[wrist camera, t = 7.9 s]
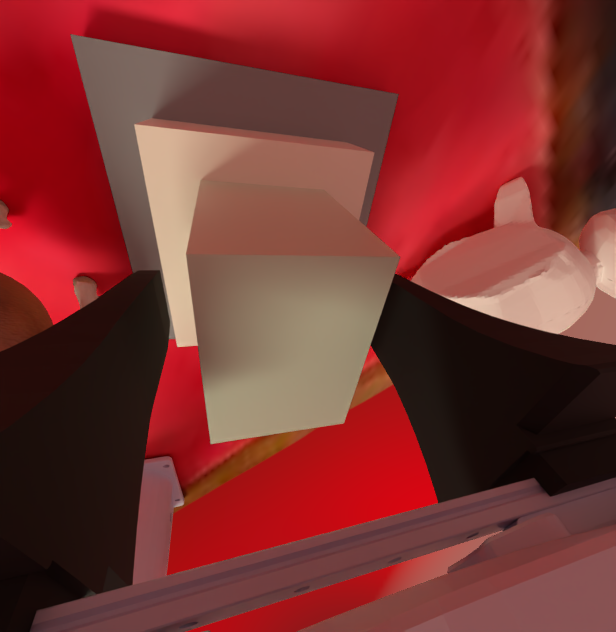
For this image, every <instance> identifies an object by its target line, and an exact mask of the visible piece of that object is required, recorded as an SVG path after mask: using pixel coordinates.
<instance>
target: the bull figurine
mask: <svg viewBox="0 0 616 632" xmlns="http://www.w3.org/2000/svg"><path fill="white" fill-rule="evenodd" d="M8 212H9V209H8V207H7V206H6V205H5V203H4V202H2V201H1V200H0V228H3V229H7V228H9V227H10V226H11V225H12V223H11V222H10V221H8V220H7V214H8ZM73 285H74V292H75V294H76V296H77V299H78V301H79V303H80V309H81V308H83V307H85V306H86V305H88V304H89V303H91V302H93V301H94V300H96V299H97V298H98V297H100V296H97V294H96V288H97V284H96V282H95V281H94V280H92V279H90V278H88V277H85V276H80V277H77V278H74V279H73ZM51 326H53V323H52V320H51V318H50V316H49V314H48V312H47V310H46V309H45V307H44V306H43V304H42V303H41V302H40V300H39V299H38V298H37V297H36V296H35V295H34V294H33V293H32V292H31V291H30V290H29V289H28V288H26V287H25V286H24V285H22V284H20V283H19V282H17V281H16V280H14V279H12V278H11V277H9V276H6V275H4V274H2V273H0V352H1V351H3V350H5V349H8V348H10V347H12V346H14V345H16V344H18V343H20V342H23V341H24V340H26V339H28V338H30V337H32V336H34V335H36V334H38V333H40V332H42V331H44V330H46V329H48V328H50V327H51Z"/></svg>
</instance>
